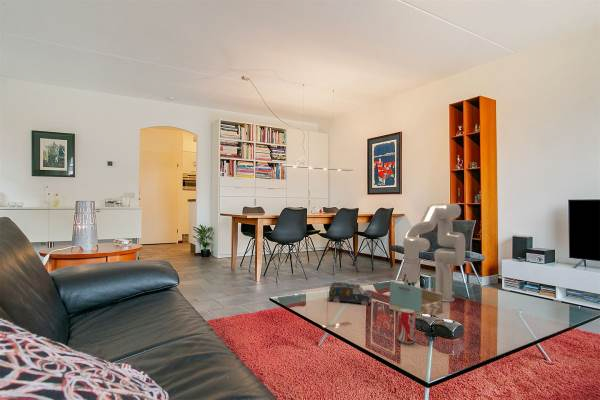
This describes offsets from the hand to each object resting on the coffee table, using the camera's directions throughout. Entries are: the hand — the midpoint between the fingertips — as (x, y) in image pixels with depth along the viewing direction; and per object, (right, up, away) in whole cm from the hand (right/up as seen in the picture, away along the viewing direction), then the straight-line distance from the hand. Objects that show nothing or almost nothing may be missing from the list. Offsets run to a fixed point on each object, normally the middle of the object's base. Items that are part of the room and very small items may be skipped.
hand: (410, 294), depth 179 cm
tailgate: (-5, -6, -4) cm, 8 cm away
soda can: (-16, -8, -40) cm, 44 cm away
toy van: (-31, -9, +17) cm, 36 cm away
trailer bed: (+3, -9, +3) cm, 10 cm away
